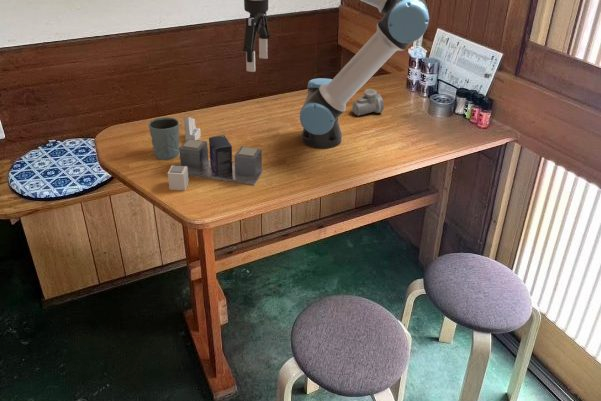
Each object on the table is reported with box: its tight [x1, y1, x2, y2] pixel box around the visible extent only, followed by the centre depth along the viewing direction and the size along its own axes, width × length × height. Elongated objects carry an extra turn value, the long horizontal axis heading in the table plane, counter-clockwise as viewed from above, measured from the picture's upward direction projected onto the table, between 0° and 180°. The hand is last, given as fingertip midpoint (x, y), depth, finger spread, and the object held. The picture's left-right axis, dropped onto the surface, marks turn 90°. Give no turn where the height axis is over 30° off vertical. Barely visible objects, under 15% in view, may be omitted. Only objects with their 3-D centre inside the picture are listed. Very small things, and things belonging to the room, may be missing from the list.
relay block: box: [167, 165, 190, 192], centre depth 177 cm, size 5×5×6 cm
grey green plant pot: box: [147, 116, 180, 161], centre depth 193 cm, size 10×10×12 cm
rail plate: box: [179, 139, 264, 186], centre depth 184 cm, size 26×10×9 cm, turn 76°
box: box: [208, 134, 233, 176], centre depth 183 cm, size 8×6×11 cm
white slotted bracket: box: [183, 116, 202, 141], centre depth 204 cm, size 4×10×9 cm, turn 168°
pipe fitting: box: [351, 88, 385, 117], centre depth 228 cm, size 12×8×10 cm
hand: (257, 64), depth 183 cm, fingers open, 13 cm apart
